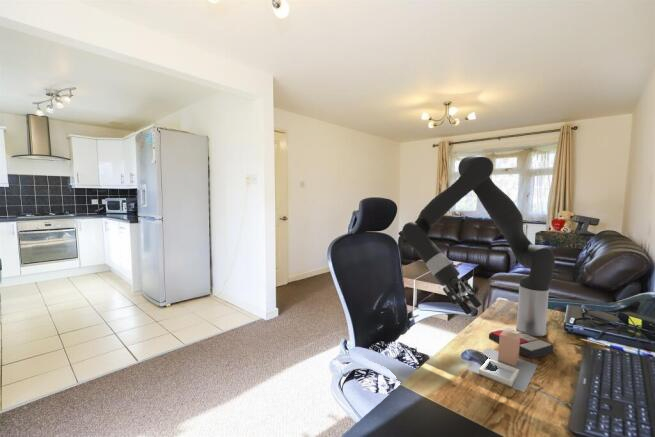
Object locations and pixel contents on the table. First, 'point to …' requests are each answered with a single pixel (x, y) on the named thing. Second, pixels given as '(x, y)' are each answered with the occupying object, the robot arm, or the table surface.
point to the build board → (506, 371)
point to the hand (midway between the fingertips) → (474, 309)
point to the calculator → (527, 344)
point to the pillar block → (509, 347)
